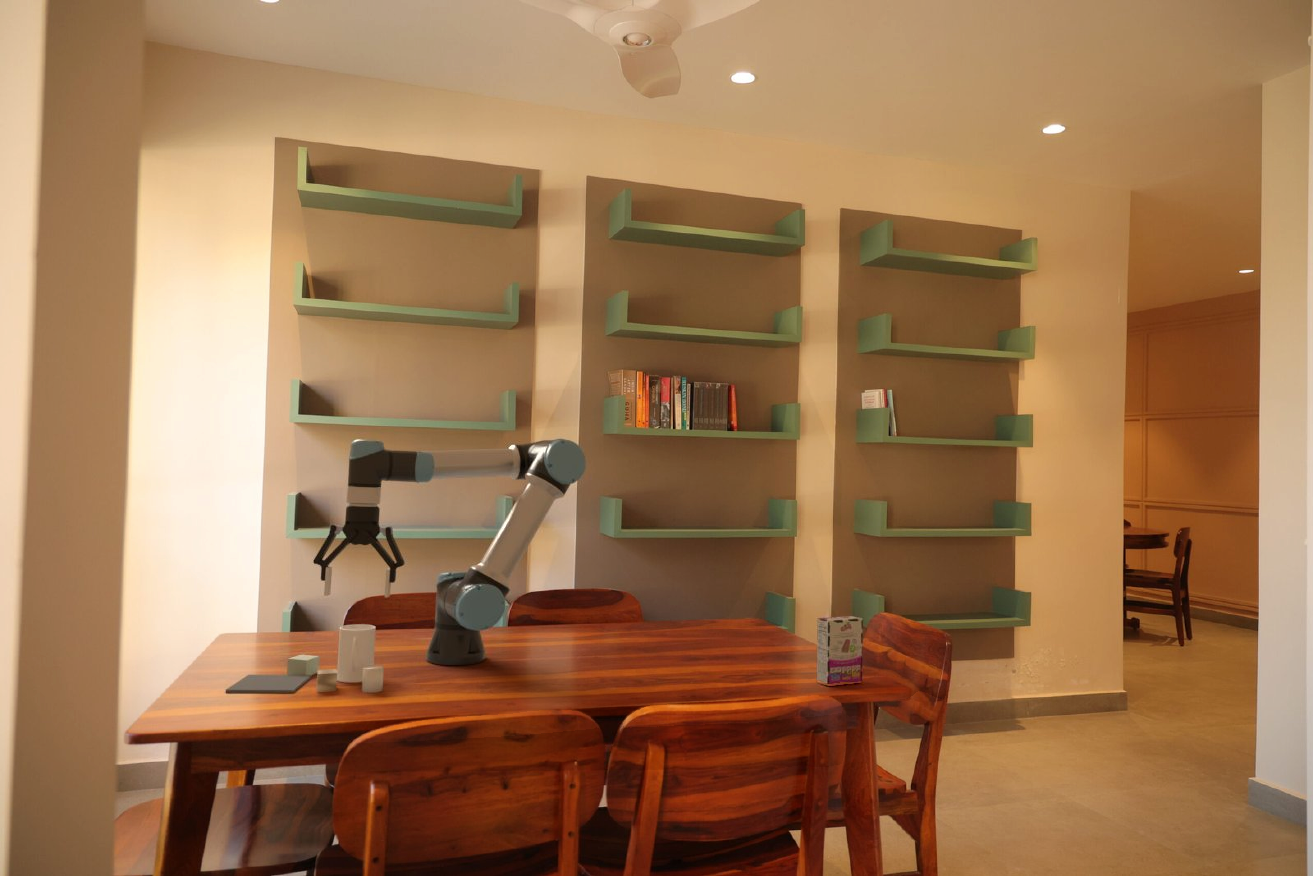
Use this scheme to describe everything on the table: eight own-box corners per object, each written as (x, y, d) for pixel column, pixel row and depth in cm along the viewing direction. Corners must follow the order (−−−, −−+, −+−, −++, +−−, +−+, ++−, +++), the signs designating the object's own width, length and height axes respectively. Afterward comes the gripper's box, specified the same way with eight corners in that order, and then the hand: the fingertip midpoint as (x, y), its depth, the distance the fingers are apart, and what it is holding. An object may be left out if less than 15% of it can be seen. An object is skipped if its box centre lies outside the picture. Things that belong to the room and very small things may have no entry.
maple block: (335, 687, 188) (336, 669, 188) (336, 691, 184) (337, 673, 185) (316, 688, 187) (317, 670, 187) (316, 692, 183) (317, 674, 183)
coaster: (311, 677, 195) (311, 675, 195) (293, 693, 181) (293, 690, 181) (248, 677, 193) (248, 674, 193) (225, 692, 179) (225, 689, 179)
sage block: (318, 673, 201) (319, 656, 201) (305, 677, 196) (306, 660, 196) (300, 671, 202) (301, 654, 202) (286, 675, 197) (287, 658, 197)
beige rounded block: (384, 687, 189) (385, 665, 189) (380, 692, 184) (381, 669, 185) (364, 687, 188) (365, 665, 188) (359, 692, 184) (361, 669, 184)
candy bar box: (849, 679, 215) (851, 615, 215) (862, 684, 210) (864, 618, 211) (814, 682, 209) (816, 617, 210) (827, 687, 205) (829, 620, 206)
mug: (368, 686, 189) (371, 633, 190) (328, 686, 188) (331, 632, 189) (376, 674, 201) (379, 624, 202) (339, 674, 200) (342, 623, 200)
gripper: (419, 506, 202) (414, 595, 201) (312, 502, 199) (306, 592, 197) (415, 507, 194) (409, 599, 193) (303, 503, 191) (297, 596, 190)
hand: (357, 596), depth 195 cm, fingers open, 13 cm apart
